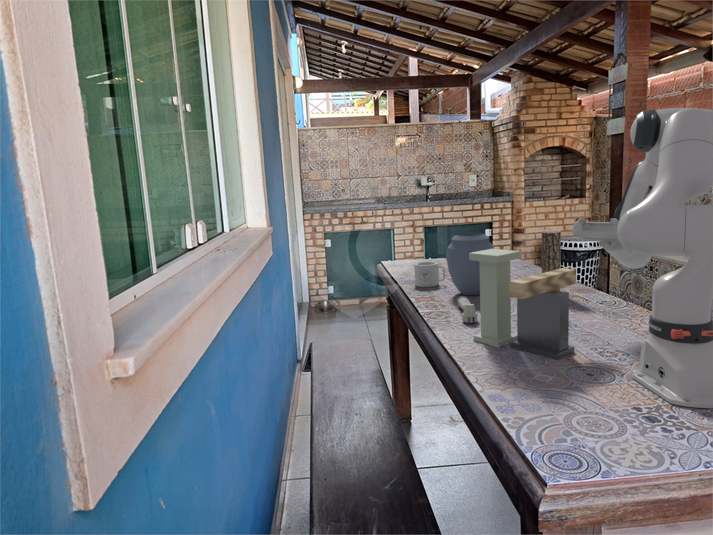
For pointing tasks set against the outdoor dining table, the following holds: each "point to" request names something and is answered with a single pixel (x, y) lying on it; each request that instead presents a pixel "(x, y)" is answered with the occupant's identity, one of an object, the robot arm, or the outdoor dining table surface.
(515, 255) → the pedestal
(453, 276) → the vase
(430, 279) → the mug
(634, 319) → the outdoor dining table surface
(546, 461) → the outdoor dining table surface
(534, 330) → the dark grey upright block
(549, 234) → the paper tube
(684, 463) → the outdoor dining table surface
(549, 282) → the beam
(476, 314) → the light grey brush
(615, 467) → the outdoor dining table surface
